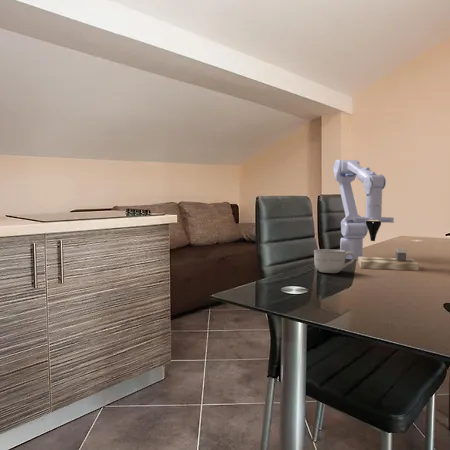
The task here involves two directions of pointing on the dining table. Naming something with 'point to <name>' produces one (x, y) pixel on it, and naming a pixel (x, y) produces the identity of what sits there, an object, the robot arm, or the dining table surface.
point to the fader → (401, 254)
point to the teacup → (331, 260)
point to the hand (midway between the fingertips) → (372, 240)
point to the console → (387, 263)
